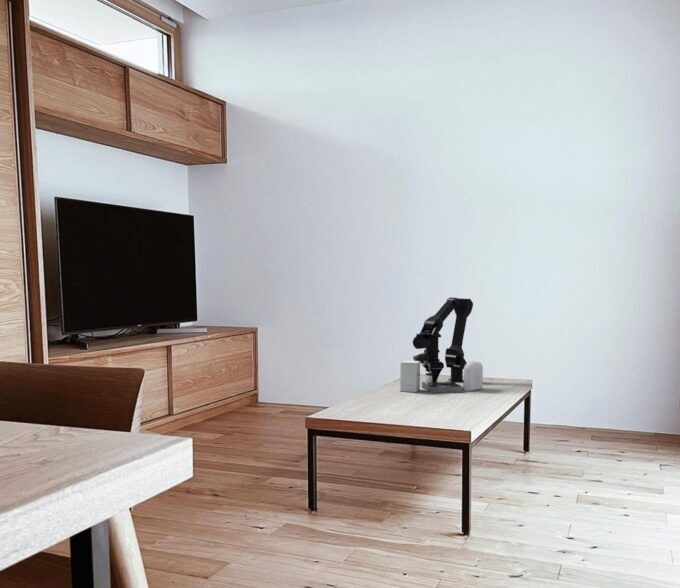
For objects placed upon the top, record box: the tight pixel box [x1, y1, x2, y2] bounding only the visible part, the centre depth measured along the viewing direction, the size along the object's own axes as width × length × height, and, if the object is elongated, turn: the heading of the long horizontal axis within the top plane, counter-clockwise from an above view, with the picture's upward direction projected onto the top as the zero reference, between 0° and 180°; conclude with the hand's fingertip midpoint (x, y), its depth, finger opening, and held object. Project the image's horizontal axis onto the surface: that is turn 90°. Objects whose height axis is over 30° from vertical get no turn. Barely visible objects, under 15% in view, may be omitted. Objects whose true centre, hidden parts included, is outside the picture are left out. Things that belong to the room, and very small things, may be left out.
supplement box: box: [399, 360, 421, 393], centre depth 294 cm, size 7×7×13 cm
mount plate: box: [421, 381, 463, 394], centre depth 296 cm, size 14×14×2 cm
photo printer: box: [462, 360, 484, 392], centre depth 297 cm, size 10×4×12 cm, turn 134°
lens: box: [425, 371, 439, 382], centre depth 309 cm, size 6×6×6 cm
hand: (431, 381), depth 309 cm, fingers open, 8 cm apart
